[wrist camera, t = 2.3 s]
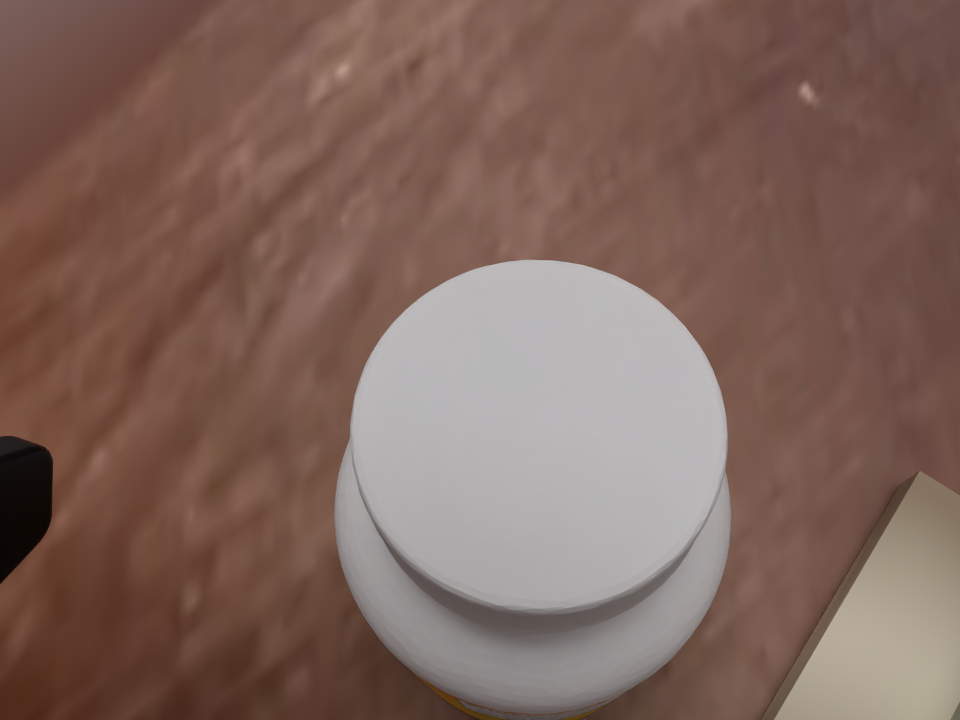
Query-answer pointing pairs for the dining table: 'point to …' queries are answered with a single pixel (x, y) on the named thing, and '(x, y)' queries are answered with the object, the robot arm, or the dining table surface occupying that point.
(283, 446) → the dining table surface
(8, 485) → the robot arm
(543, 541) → the supplement bottle
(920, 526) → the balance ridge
